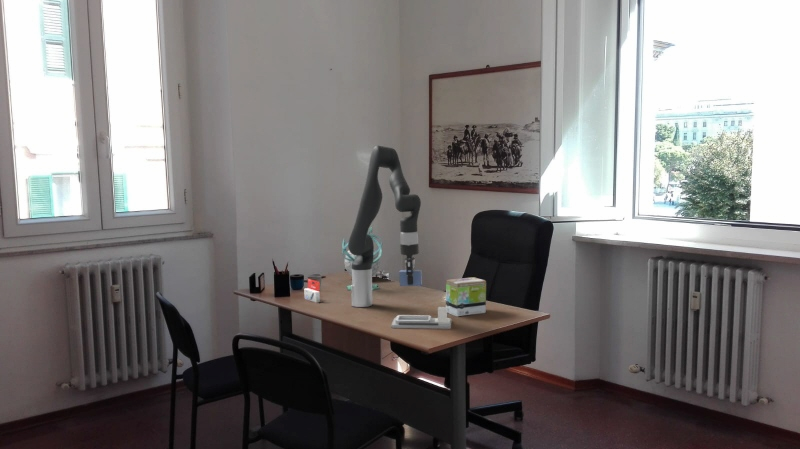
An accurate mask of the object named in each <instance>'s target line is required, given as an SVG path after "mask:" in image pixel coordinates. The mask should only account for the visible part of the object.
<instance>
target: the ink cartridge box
mask: <svg viewBox="0 0 800 449" xmlns="http://www.w3.org/2000/svg"><path fill="white" fill-rule="evenodd" d="M320 284H321V283H320V281H319V280H318V281H317V280H314V279H310V278H307V288H306V287H305V288H304V289H303V290H304V294H303V295H304V299H305V300H307V301H310V302H314V303H321V293H320V286H321V285H320Z"/></svg>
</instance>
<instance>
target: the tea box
mask: <svg viewBox="0 0 800 449" xmlns="http://www.w3.org/2000/svg"><path fill="white" fill-rule="evenodd" d="M445 282H446V283H445V291H446V292H445V307H447V314H449V315H452V316H455V317H460V316H461V317H462V316H469V315H479V314H485V313H486V309H487V306H486V304H487V281H486V280H485V279H481V278H477V277H464V278H452V279H446V281H445Z"/></svg>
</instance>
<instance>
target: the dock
mask: <svg viewBox="0 0 800 449" xmlns="http://www.w3.org/2000/svg"><path fill="white" fill-rule="evenodd" d="M390 327H391V329H433V330H434V329H437V330H439V329H441V330H448V329H449V330H451V329H452V318H451V317H450V318H449V317H448V313H447V307H446V306H438V307H437V317H432V316H431V315H423V314H422V315H419V314H417V315H416V314H413V315H412V314H398V315H396V317H394V318H393V320H392V322H391V325H390Z"/></svg>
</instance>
